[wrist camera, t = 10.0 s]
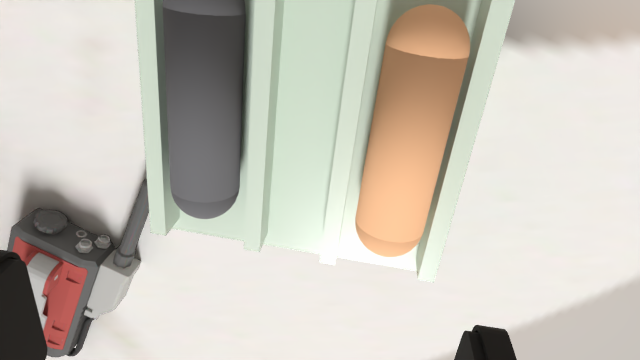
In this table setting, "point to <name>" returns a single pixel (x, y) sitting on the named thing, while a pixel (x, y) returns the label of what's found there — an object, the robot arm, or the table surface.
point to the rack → (316, 124)
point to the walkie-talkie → (75, 271)
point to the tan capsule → (410, 127)
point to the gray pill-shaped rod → (204, 102)
